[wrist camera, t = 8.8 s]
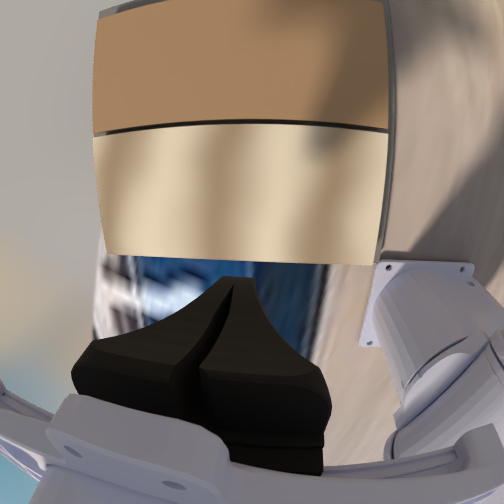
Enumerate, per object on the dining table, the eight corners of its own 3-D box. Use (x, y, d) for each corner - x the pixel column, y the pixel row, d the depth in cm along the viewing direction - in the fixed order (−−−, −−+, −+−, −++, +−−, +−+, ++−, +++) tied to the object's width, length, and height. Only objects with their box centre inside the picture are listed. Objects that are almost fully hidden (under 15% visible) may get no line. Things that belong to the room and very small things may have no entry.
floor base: (383, 0, 12) (394, -13, 10) (375, 257, 20) (385, 272, 18) (105, 14, 14) (88, 6, 12) (113, 247, 22) (97, 259, 19)
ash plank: (379, 133, 16) (388, 134, 14) (366, 255, 19) (372, 265, 18) (104, 136, 17) (92, 137, 16) (117, 245, 20) (107, 254, 19)
